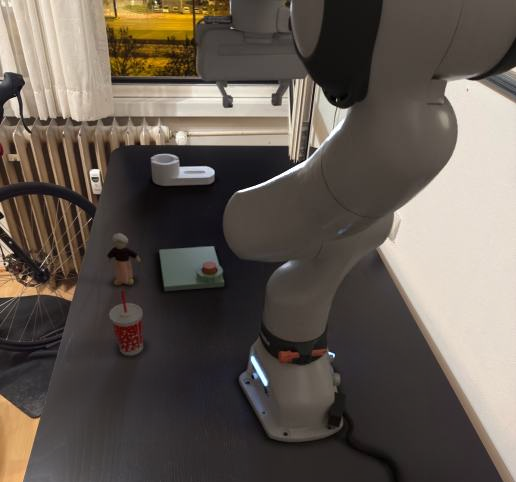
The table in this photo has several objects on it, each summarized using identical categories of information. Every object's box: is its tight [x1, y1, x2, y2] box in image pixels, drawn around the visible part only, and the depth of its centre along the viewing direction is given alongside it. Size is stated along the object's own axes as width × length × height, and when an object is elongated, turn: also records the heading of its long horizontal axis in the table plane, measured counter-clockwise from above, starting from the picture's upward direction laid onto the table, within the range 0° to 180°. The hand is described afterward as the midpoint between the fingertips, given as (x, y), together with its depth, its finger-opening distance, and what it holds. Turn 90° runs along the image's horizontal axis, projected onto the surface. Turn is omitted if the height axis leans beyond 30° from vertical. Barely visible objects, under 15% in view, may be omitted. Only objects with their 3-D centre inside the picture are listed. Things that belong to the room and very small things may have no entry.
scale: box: [158, 245, 225, 292], centre depth 117 cm, size 16×14×3 cm
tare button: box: [203, 261, 216, 275], centre depth 113 cm, size 3×3×2 cm
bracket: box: [150, 153, 216, 187], centre depth 153 cm, size 20×9×7 cm, turn 102°
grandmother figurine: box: [105, 232, 142, 286], centre depth 108 cm, size 8×4×13 cm, turn 105°
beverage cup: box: [108, 290, 144, 356], centre depth 92 cm, size 6×6×14 cm
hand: (252, 106), depth 88 cm, fingers open, 8 cm apart
